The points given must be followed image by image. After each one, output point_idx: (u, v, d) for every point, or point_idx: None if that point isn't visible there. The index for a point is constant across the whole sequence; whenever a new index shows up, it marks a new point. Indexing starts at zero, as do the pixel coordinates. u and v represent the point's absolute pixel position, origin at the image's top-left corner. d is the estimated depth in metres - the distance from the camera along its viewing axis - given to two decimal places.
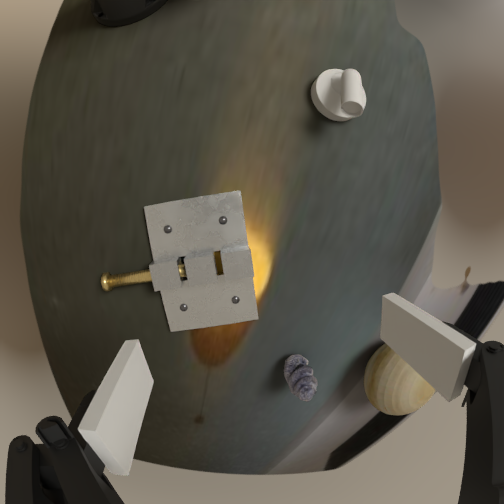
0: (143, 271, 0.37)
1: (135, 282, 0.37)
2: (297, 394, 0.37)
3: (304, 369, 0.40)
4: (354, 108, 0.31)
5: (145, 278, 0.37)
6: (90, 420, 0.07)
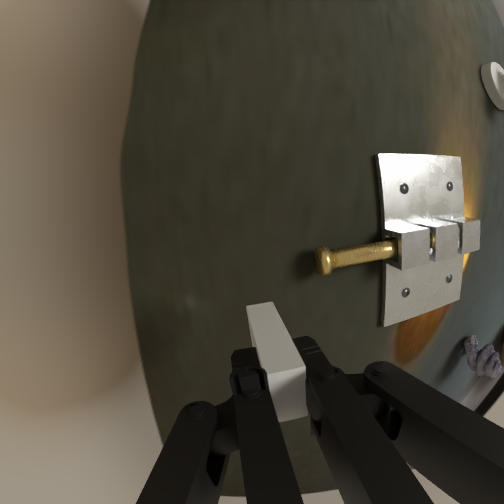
0: (381, 243, 0.25)
1: (371, 259, 0.25)
2: (489, 372, 0.26)
3: (490, 346, 0.28)
4: None
5: (386, 253, 0.25)
6: (272, 365, 0.09)
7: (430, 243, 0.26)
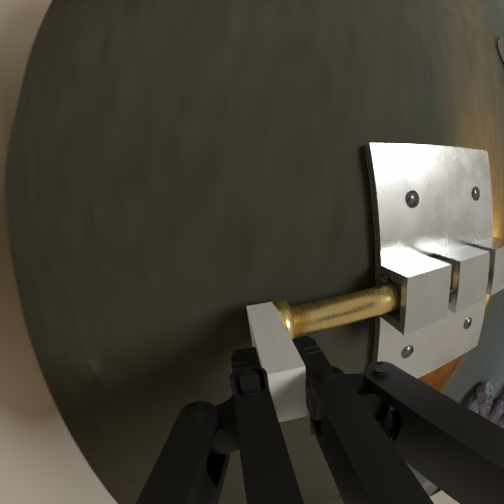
0: (382, 290, 0.15)
1: (364, 317, 0.15)
2: None
3: None
4: None
5: (389, 306, 0.15)
6: (272, 364, 0.09)
7: None
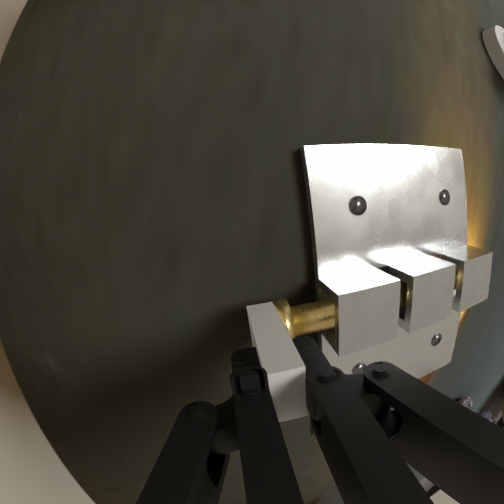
0: None
1: None
2: None
3: (487, 415, 0.17)
4: None
5: None
6: (272, 364, 0.09)
7: (455, 283, 0.16)
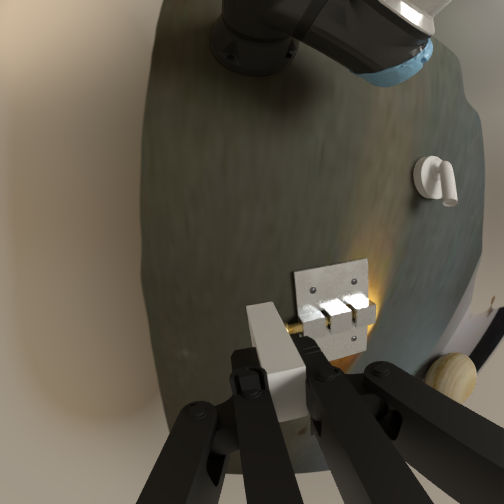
0: None
1: None
2: None
3: None
4: (450, 200, 0.40)
5: None
6: (272, 365, 0.09)
7: None
